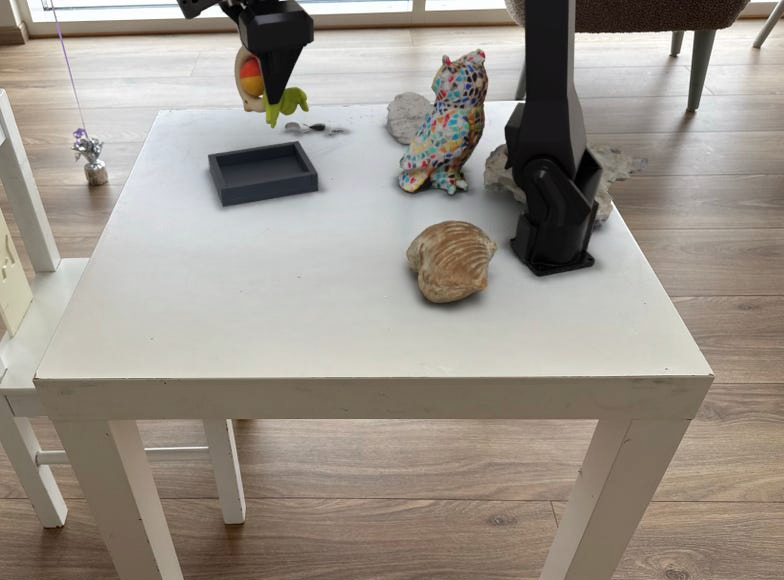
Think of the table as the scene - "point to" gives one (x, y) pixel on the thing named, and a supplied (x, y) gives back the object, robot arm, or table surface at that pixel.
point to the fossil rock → (609, 158)
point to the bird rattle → (263, 90)
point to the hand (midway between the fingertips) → (264, 88)
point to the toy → (311, 127)
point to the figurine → (448, 127)
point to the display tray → (262, 173)
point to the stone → (406, 115)
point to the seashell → (451, 260)
